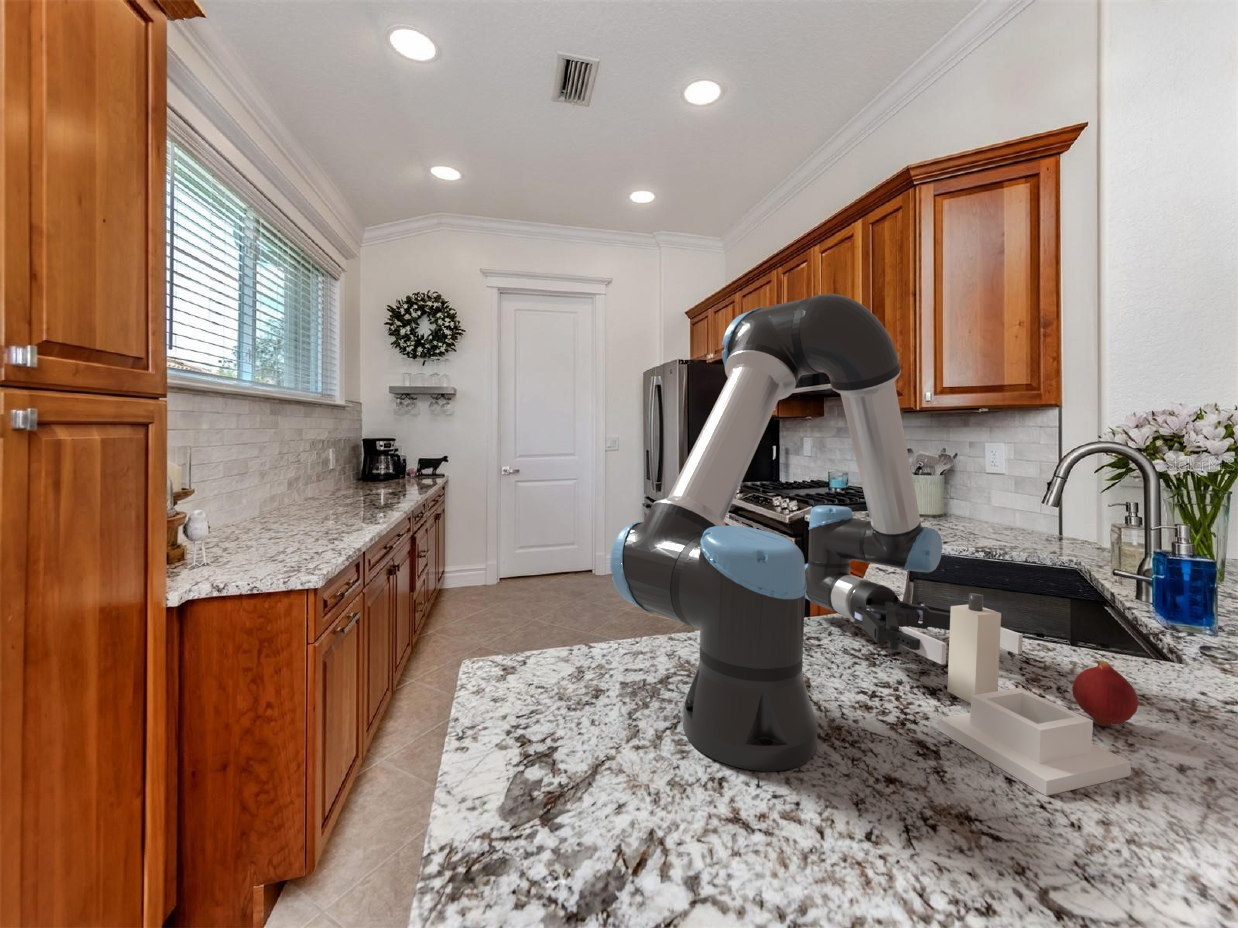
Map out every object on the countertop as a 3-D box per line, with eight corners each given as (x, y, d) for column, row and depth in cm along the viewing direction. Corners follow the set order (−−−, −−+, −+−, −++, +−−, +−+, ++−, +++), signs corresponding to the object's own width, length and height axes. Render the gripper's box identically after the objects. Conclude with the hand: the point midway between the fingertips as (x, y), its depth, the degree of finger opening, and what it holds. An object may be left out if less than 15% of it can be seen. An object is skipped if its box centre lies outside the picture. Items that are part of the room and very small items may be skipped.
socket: (938, 730, 62) (939, 689, 61) (1013, 717, 65) (1014, 678, 65) (1045, 796, 50) (1048, 745, 50) (1130, 776, 53) (1132, 728, 53)
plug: (947, 691, 72) (951, 591, 71) (969, 688, 73) (973, 590, 72) (974, 705, 68) (978, 600, 67) (997, 701, 69) (1001, 598, 68)
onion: (1108, 714, 66) (1111, 653, 66) (1150, 740, 60) (1154, 672, 60) (1059, 711, 67) (1062, 650, 66) (1096, 736, 61) (1099, 669, 61)
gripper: (921, 618, 93) (1048, 666, 73) (803, 629, 86) (908, 687, 66) (923, 577, 93) (1051, 614, 73) (805, 585, 86) (910, 629, 65)
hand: (983, 649), depth 69 cm, fingers open, 13 cm apart
